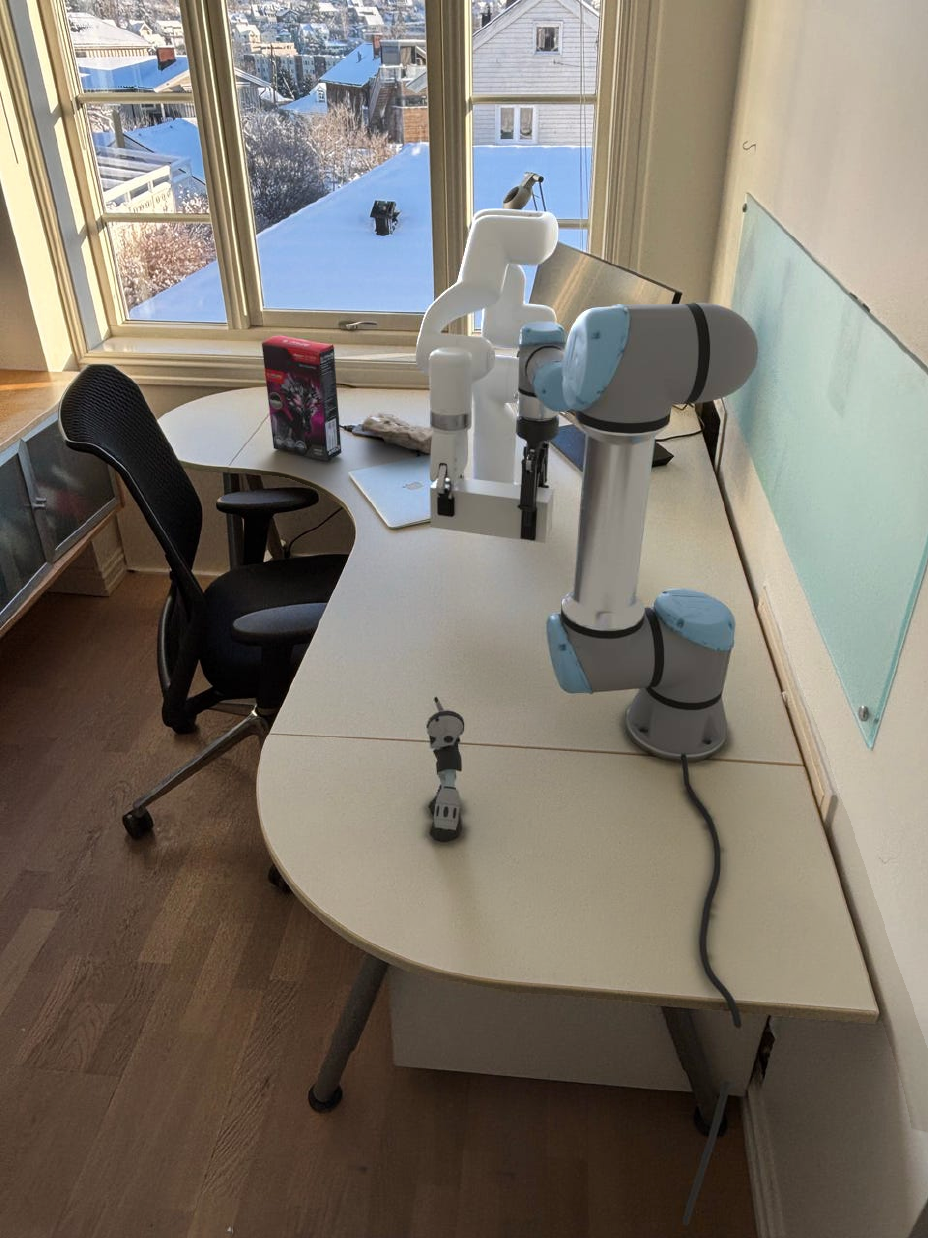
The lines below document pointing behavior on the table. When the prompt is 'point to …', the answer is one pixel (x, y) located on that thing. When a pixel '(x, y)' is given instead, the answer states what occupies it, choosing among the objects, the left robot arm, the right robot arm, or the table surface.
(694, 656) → the right robot arm
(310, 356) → the graphics card box
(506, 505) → the bar
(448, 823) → the robot
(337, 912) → the table surface
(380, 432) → the stone
